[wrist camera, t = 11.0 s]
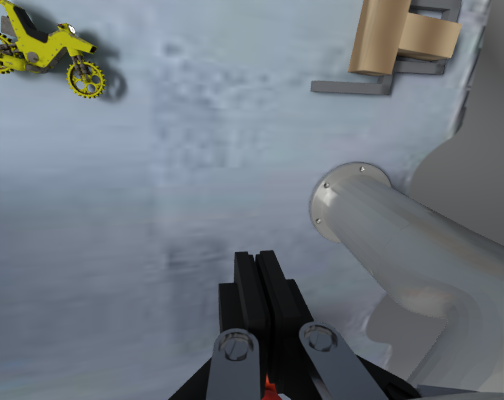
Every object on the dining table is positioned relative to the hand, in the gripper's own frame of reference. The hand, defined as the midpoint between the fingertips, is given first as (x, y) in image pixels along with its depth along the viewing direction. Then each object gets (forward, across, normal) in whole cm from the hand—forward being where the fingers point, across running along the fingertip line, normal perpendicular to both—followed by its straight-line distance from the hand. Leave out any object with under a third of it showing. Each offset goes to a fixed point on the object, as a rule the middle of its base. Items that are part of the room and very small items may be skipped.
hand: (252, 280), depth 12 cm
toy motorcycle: (+27, +18, -11) cm, 34 cm away
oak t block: (+27, -22, -14) cm, 38 cm away
